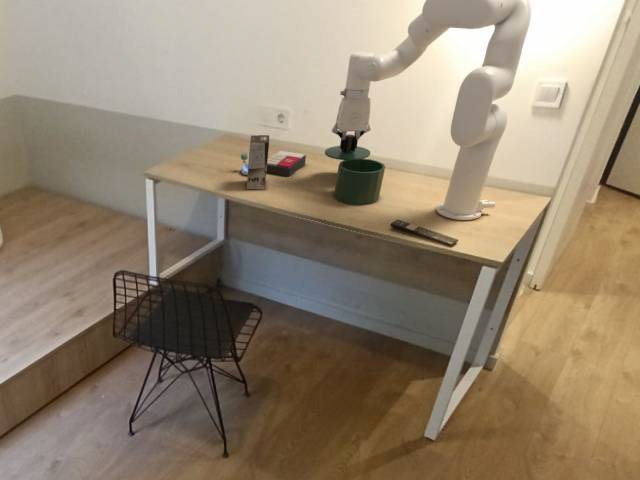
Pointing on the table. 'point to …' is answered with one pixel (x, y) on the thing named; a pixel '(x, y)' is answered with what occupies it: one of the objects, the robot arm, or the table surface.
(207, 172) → the table surface
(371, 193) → the tin
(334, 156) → the tin lid
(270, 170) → the grey red flat block
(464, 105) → the robot arm
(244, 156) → the figurine
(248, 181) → the coffee box
